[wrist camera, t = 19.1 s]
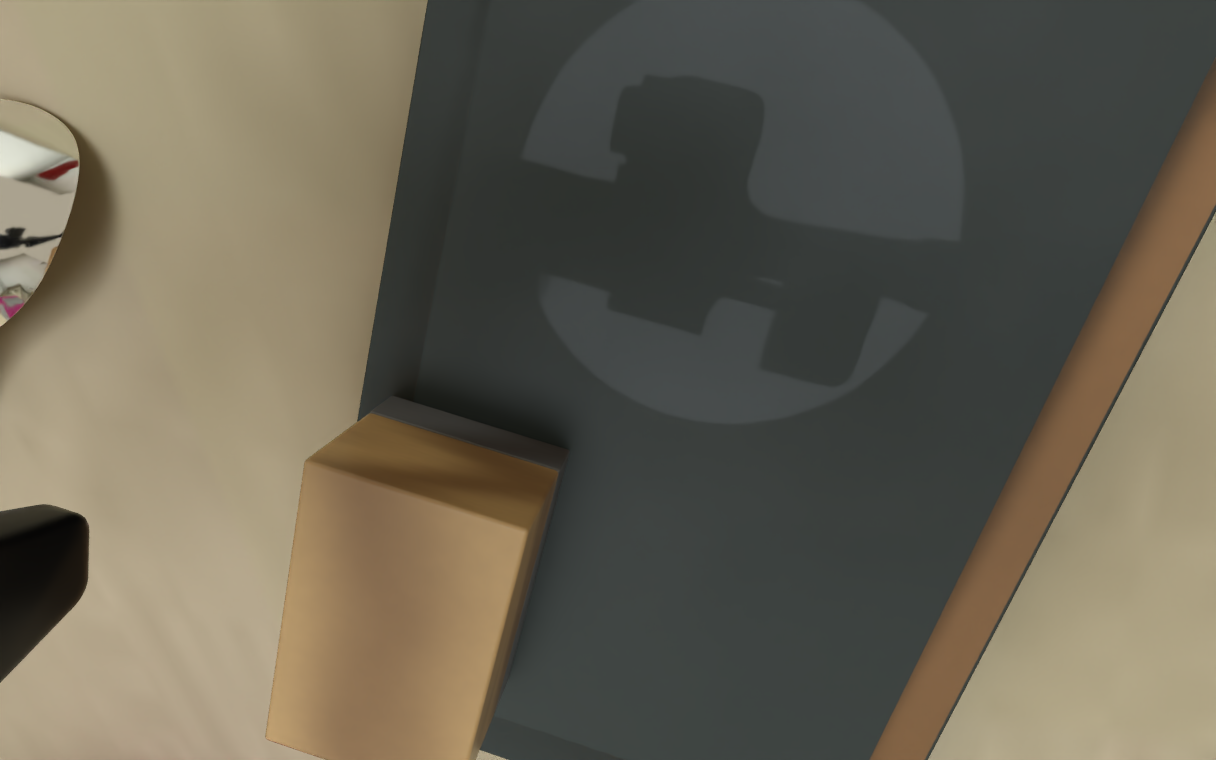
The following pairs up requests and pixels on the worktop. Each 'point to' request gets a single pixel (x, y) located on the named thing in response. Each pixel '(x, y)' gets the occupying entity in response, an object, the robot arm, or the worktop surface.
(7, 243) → the metal serving spoon
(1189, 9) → the chalkboard
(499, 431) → the wooden block
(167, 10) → the worktop surface
